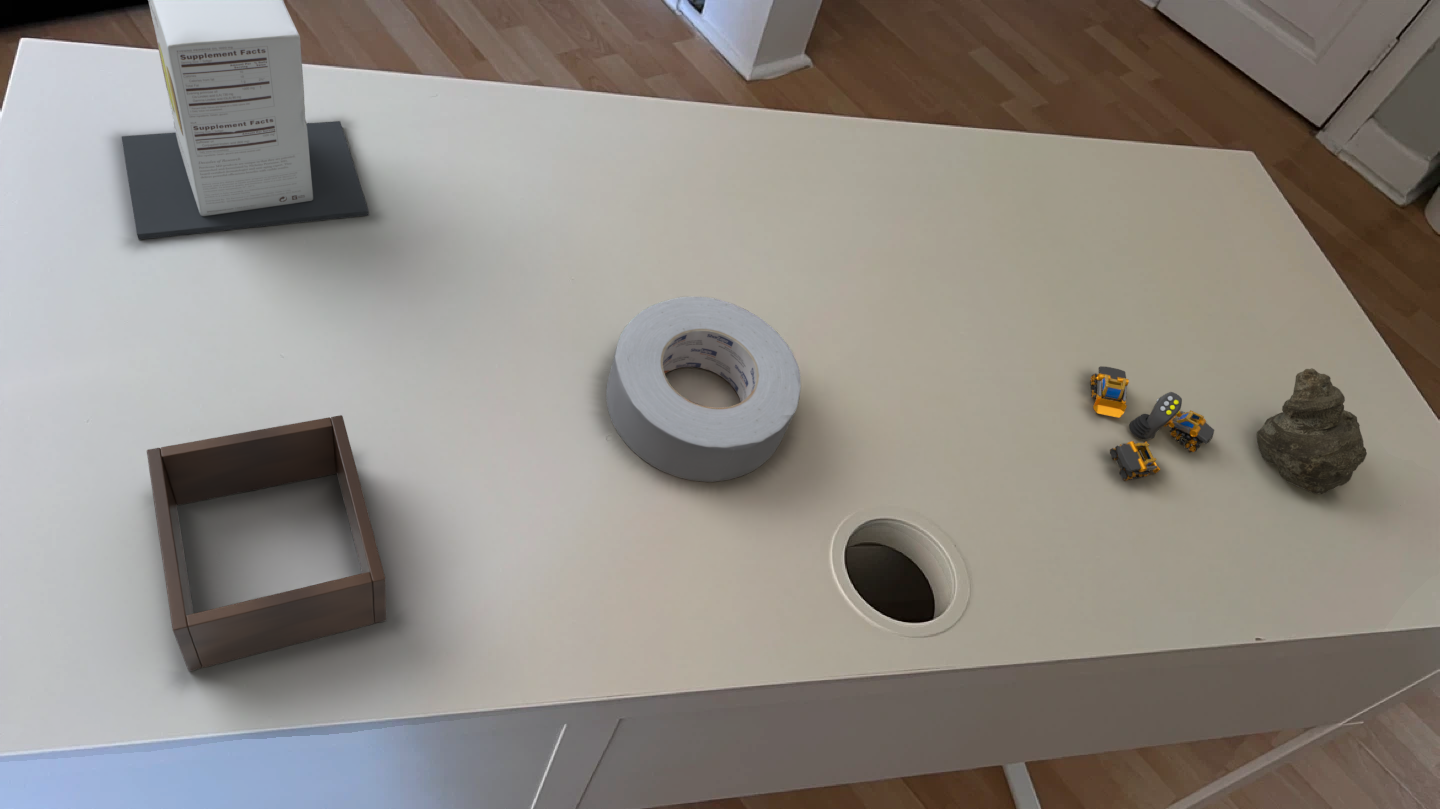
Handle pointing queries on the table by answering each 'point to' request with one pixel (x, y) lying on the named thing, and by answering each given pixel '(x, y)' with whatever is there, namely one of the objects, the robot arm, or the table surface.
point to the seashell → (1313, 436)
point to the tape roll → (684, 429)
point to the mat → (173, 211)
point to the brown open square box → (246, 468)
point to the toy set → (1145, 423)
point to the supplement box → (236, 101)
